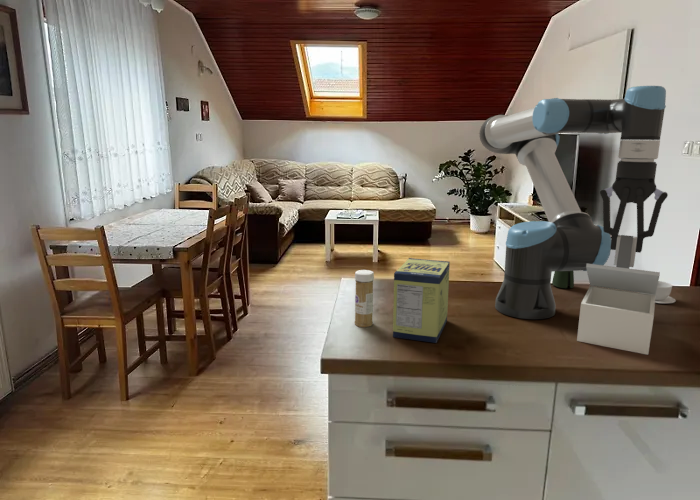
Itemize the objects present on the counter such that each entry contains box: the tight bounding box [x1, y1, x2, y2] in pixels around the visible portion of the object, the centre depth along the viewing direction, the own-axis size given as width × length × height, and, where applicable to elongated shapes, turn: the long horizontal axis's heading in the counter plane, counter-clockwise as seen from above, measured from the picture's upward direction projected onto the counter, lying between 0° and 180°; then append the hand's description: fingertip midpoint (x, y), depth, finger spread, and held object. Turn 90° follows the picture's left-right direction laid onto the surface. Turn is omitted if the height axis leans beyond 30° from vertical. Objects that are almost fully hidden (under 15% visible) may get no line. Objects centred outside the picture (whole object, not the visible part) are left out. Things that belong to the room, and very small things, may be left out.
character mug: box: [551, 271, 575, 289], centre depth 153 cm, size 11×7×13 cm, turn 100°
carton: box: [576, 285, 656, 355], centre depth 115 cm, size 14×16×9 cm
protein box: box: [392, 257, 451, 344], centre depth 119 cm, size 10×16×16 cm
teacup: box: [644, 280, 677, 304], centre depth 143 cm, size 10×10×5 cm
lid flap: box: [586, 234, 660, 295], centre depth 115 cm, size 16×14×9 cm
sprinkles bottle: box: [354, 269, 375, 328], centre depth 121 cm, size 5×5×13 cm
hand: (623, 264), depth 114 cm, fingers closed on lid flap, 2 cm apart
